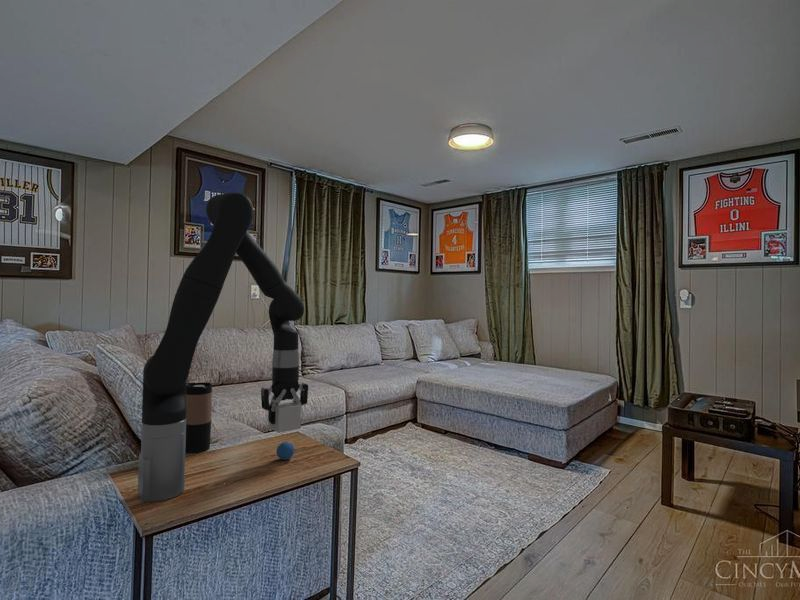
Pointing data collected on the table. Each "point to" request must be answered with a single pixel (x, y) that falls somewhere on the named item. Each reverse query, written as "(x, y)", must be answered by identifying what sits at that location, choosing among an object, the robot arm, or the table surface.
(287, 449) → the ball
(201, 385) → the travel mug
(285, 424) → the matte gray cube
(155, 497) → the robot arm
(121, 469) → the table surface
